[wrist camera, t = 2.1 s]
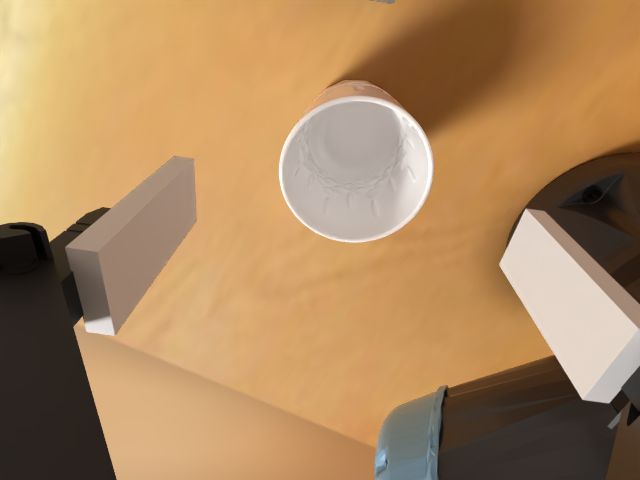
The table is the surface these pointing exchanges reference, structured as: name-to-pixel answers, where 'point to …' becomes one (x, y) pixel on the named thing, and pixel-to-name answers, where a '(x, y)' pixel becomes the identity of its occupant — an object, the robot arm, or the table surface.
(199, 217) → the table surface
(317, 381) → the table surface
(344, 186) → the white cup
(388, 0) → the tray
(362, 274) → the table surface
